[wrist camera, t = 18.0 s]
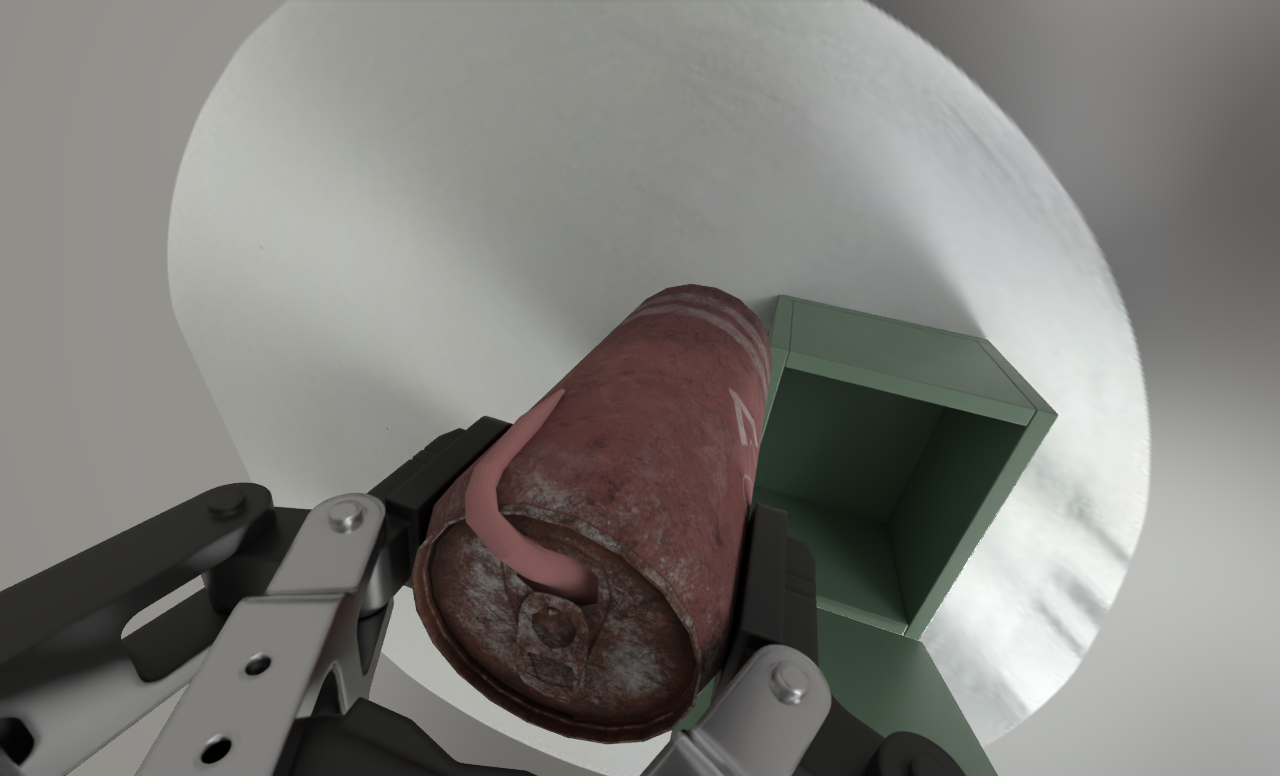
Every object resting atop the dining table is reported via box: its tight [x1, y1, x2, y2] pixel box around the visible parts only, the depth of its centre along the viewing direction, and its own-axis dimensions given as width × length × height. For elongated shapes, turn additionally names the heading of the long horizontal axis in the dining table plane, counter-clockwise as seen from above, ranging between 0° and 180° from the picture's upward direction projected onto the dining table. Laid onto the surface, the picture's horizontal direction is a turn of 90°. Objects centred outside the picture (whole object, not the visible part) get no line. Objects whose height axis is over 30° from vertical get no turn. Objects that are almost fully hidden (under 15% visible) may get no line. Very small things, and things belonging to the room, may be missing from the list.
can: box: [411, 284, 772, 744], centre depth 15 cm, size 6×6×14 cm
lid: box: [670, 607, 998, 776], centre depth 25 cm, size 18×14×5 cm
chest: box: [748, 295, 1058, 640], centre depth 34 cm, size 17×14×11 cm
